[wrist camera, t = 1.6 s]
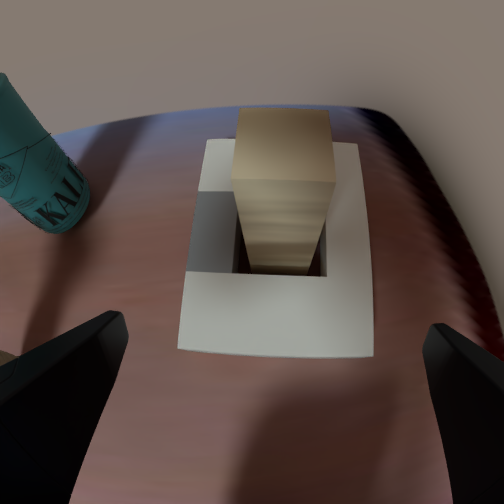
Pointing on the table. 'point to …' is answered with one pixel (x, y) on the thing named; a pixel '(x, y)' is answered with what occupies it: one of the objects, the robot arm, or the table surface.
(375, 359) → the table surface
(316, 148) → the plug
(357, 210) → the block
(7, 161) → the beverage bottle
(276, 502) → the table surface
